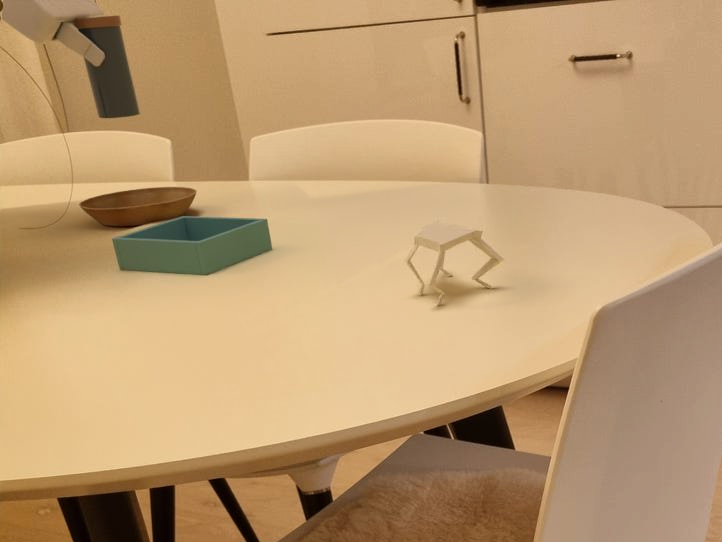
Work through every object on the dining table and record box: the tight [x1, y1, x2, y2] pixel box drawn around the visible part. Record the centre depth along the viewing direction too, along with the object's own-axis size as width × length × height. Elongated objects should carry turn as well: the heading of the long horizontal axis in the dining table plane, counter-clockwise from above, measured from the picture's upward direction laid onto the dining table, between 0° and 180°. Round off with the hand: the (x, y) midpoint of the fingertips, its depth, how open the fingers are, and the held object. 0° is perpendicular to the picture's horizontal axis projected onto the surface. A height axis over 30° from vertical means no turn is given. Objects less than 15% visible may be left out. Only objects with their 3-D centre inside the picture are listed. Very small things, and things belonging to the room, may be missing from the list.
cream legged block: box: [404, 220, 505, 306], centre depth 84 cm, size 12×8×5 cm
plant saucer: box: [78, 186, 198, 227], centre depth 122 cm, size 15×15×3 cm
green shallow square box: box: [111, 215, 273, 276], centre depth 98 cm, size 11×11×4 cm
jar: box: [73, 14, 141, 119], centre depth 113 cm, size 5×5×10 cm
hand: (111, 59), depth 113 cm, fingers closed on jar, 5 cm apart
